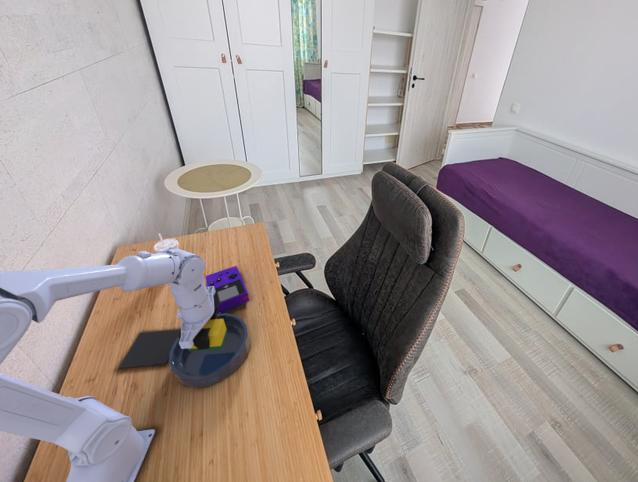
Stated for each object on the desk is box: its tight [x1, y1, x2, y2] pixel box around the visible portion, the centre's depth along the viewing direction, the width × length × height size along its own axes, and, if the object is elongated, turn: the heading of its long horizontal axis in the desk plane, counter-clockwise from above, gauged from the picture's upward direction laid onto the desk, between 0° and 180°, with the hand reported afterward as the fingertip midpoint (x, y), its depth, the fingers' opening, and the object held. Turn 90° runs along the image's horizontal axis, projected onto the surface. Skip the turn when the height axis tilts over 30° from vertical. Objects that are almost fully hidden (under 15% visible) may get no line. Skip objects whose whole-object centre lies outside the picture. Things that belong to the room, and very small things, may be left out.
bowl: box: [168, 313, 251, 389], centre depth 68 cm, size 16×16×4 cm
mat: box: [118, 328, 181, 370], centre depth 69 cm, size 9×10×1 cm
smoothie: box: [153, 232, 180, 253], centre depth 89 cm, size 6×6×14 cm
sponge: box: [188, 319, 227, 352], centre depth 66 cm, size 4×7×5 cm, turn 99°
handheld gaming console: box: [204, 265, 250, 314], centre depth 84 cm, size 9×5×15 cm
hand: (208, 337), depth 66 cm, fingers closed on sponge, 4 cm apart
